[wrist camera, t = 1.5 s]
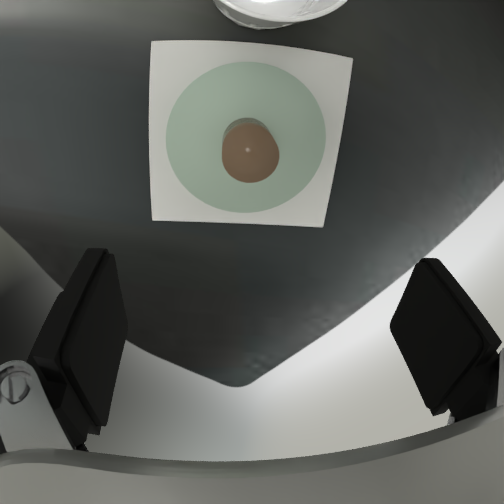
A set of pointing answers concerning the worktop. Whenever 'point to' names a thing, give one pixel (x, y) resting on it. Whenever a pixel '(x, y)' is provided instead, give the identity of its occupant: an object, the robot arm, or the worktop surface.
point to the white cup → (275, 11)
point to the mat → (221, 53)
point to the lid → (245, 137)
